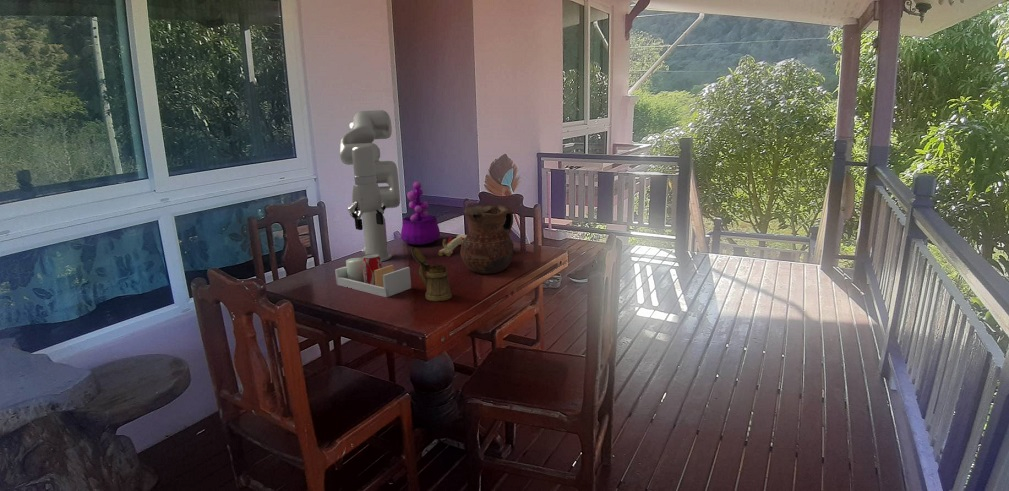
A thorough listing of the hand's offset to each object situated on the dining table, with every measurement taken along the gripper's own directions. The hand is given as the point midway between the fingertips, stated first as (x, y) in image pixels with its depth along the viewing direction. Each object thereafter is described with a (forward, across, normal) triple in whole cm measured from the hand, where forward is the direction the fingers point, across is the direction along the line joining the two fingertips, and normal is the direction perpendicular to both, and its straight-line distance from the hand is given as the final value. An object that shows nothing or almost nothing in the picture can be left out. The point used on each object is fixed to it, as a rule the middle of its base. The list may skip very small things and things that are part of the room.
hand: (369, 226), depth 215 cm
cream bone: (+24, -56, -10) cm, 62 cm away
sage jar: (+23, +2, -8) cm, 24 cm away
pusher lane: (+22, +1, +2) cm, 23 cm away
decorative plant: (+24, -56, -33) cm, 69 cm away
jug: (+23, -39, +23) cm, 51 cm away
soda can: (+23, +1, +1) cm, 23 cm away
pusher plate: (+22, +1, +7) cm, 23 cm away
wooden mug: (+22, -2, +28) cm, 36 cm away
